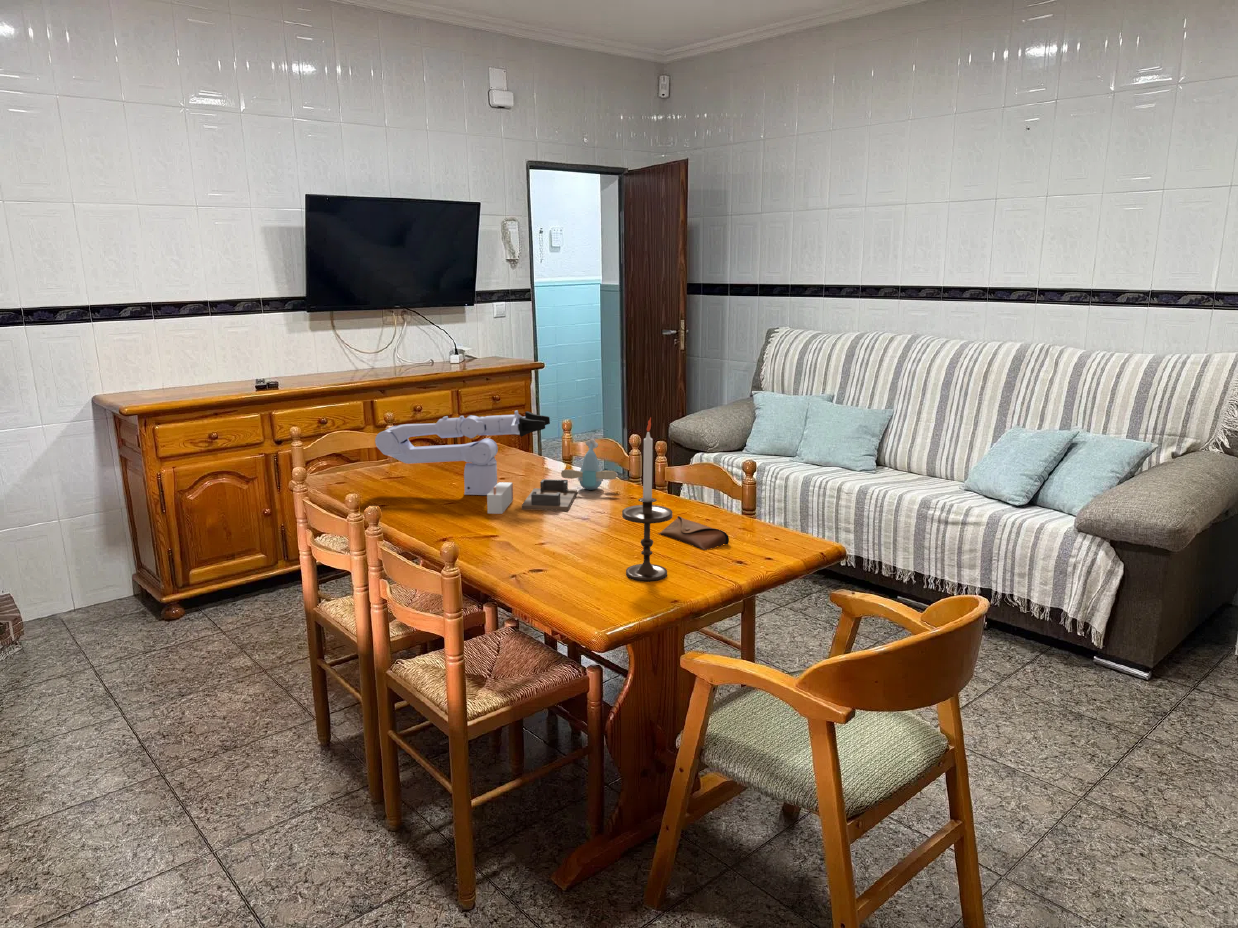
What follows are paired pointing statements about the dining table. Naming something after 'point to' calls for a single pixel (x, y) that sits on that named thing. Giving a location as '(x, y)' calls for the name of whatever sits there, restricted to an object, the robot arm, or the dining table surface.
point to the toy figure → (590, 470)
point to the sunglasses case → (695, 534)
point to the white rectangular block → (500, 497)
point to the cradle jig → (550, 496)
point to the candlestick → (647, 520)
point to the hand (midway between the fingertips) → (547, 422)
